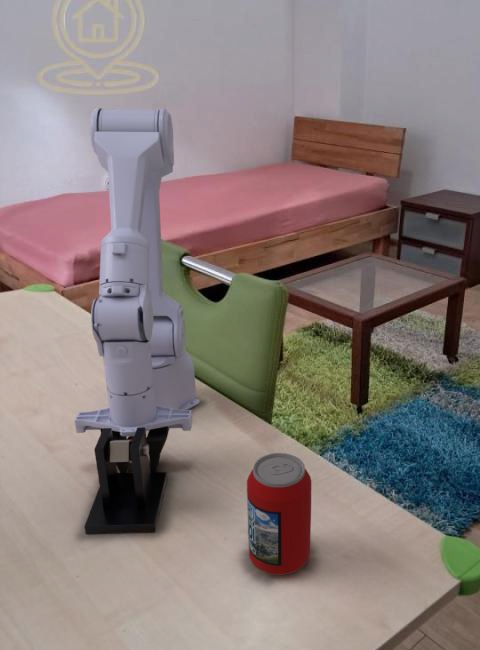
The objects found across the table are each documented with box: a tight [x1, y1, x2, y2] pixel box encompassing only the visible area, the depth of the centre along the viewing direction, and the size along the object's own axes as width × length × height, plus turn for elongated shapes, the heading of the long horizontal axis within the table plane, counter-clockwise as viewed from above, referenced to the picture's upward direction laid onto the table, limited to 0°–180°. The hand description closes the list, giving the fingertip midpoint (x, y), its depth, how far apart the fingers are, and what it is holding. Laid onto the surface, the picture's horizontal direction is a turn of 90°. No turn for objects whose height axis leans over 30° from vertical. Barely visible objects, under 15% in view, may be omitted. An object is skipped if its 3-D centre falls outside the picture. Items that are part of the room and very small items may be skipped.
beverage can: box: [246, 452, 312, 576], centre depth 67 cm, size 7×7×12 cm
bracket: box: [84, 428, 168, 535], centre depth 76 cm, size 10×8×10 cm
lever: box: [110, 436, 147, 462], centre depth 79 cm, size 12×3×3 cm
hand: (140, 474), depth 85 cm, fingers closed on lever, 3 cm apart
